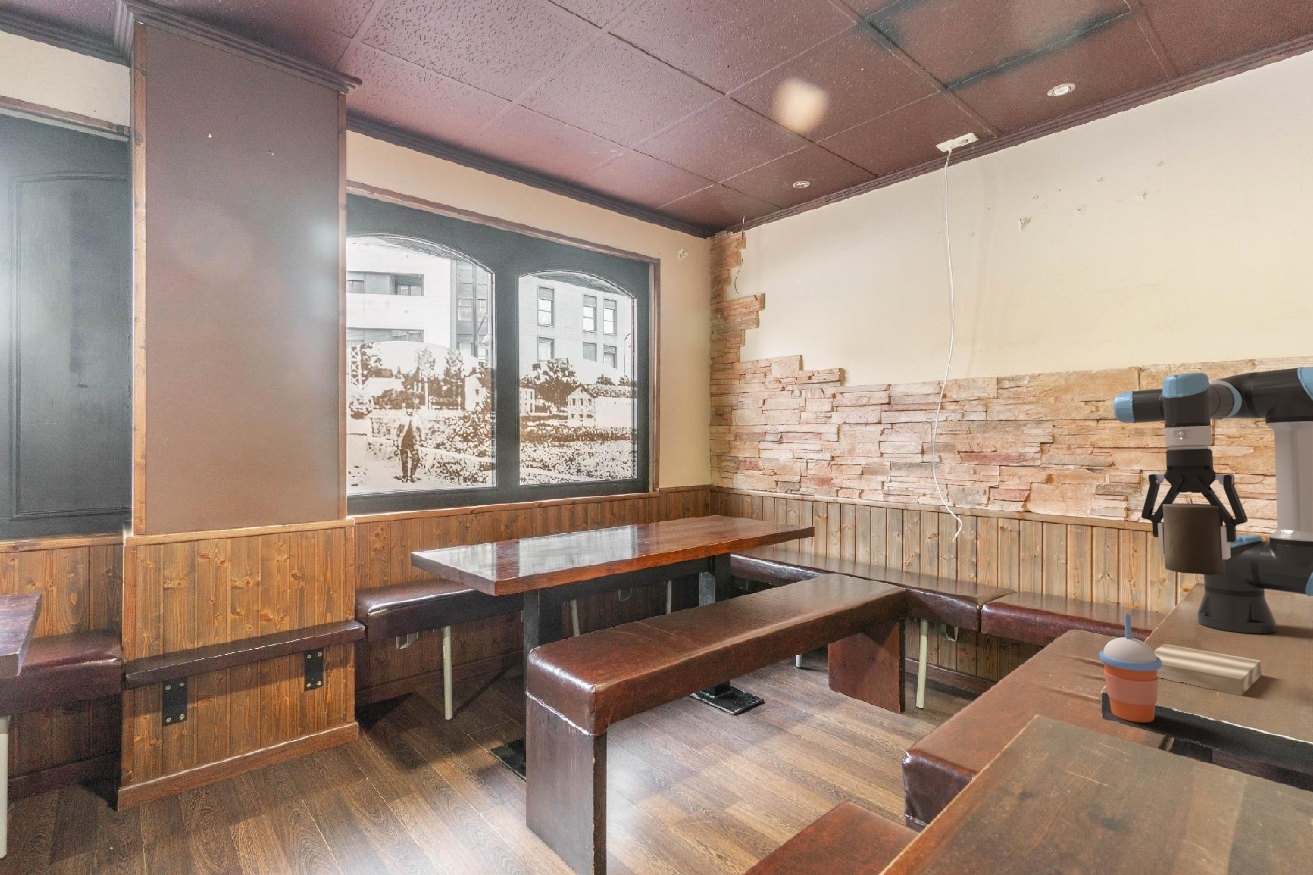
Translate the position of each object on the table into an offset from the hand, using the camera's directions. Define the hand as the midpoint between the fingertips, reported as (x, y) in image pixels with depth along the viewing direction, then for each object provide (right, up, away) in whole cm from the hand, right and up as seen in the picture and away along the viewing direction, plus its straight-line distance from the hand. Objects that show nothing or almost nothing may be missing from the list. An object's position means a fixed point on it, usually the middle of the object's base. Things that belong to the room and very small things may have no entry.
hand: (1194, 555), depth 135 cm
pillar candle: (0, -3, 0) cm, 3 cm away
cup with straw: (-27, -25, -19) cm, 41 cm away
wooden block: (+1, -25, -1) cm, 25 cm away
